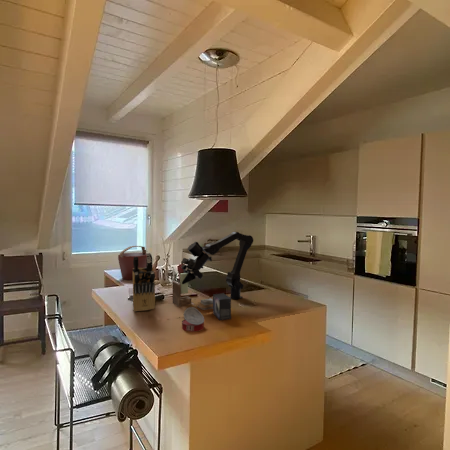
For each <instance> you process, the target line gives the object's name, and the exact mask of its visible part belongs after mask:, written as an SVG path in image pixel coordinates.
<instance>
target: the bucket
mask: <svg viewBox="0 0 450 450" xmlns="http://www.w3.org/2000/svg"><path fill="white" fill-rule="evenodd" d="M137 247H138V248H141V251H142V252H127V251H128V250H130V249H132V248H137ZM147 253H148V252H147V249H146V247H145V246H142V245H132V246H130V245H129V246H127V247H126V248H125V249H123V250H121V251H120V253H119V254H117V255H118V256H117V259H118V265H119V270H120V274H121V278H122V280H125V281H133V268H134V265H133V260H134V257H138V263H139V264H138V268H146V264H147Z"/></svg>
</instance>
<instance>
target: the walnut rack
mask: <svg viewBox="0 0 450 450" xmlns="http://www.w3.org/2000/svg"><path fill="white" fill-rule="evenodd" d="M181 295H182V294H181V284H180V282H177V281H175V280H174V281H172V304H174V305H175V306H177V308H179V307H186V306H193V305H194V306H195V305H196V303H194V302H193V301H192V298H191V297H190V296H181Z"/></svg>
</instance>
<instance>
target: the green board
mask: <svg viewBox="0 0 450 450" xmlns="http://www.w3.org/2000/svg"><path fill="white" fill-rule="evenodd" d="M186 276H187V273H184V272H183V273H179V284H181V295H183V294H189V282H187V283H185V284H182V282H183V280H184V279H185V277H186Z"/></svg>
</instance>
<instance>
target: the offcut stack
mask: <svg viewBox="0 0 450 450" xmlns="http://www.w3.org/2000/svg"><path fill="white" fill-rule="evenodd" d="M196 306H197V308H199V309H201V310H203V311H207V310H213V298H205V299H200V302H197V305H196Z"/></svg>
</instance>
